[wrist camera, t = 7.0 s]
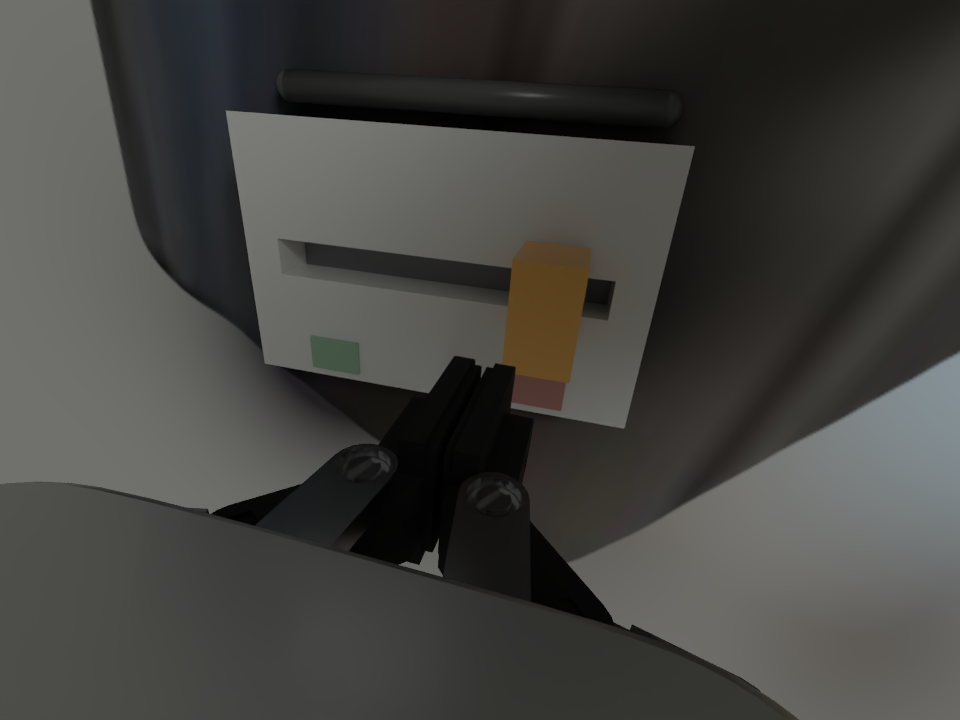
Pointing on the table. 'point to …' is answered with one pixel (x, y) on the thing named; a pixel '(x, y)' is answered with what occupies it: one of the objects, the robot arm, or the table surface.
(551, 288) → the lever
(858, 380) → the table surface
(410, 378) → the switch panel
